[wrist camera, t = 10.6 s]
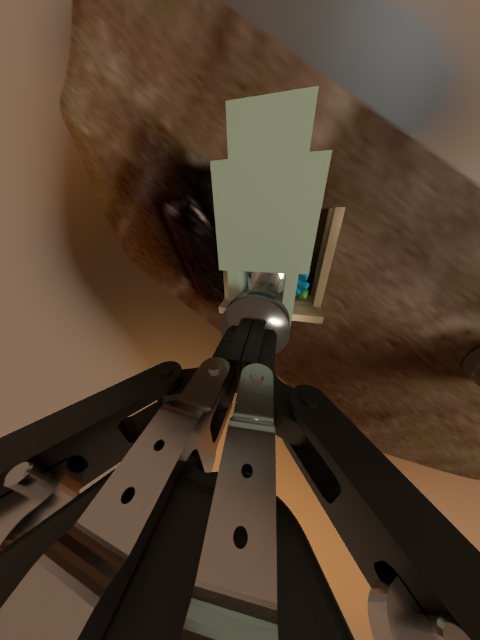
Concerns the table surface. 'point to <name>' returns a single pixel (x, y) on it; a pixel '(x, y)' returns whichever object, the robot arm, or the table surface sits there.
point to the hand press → (269, 189)
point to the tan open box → (312, 304)
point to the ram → (261, 307)
